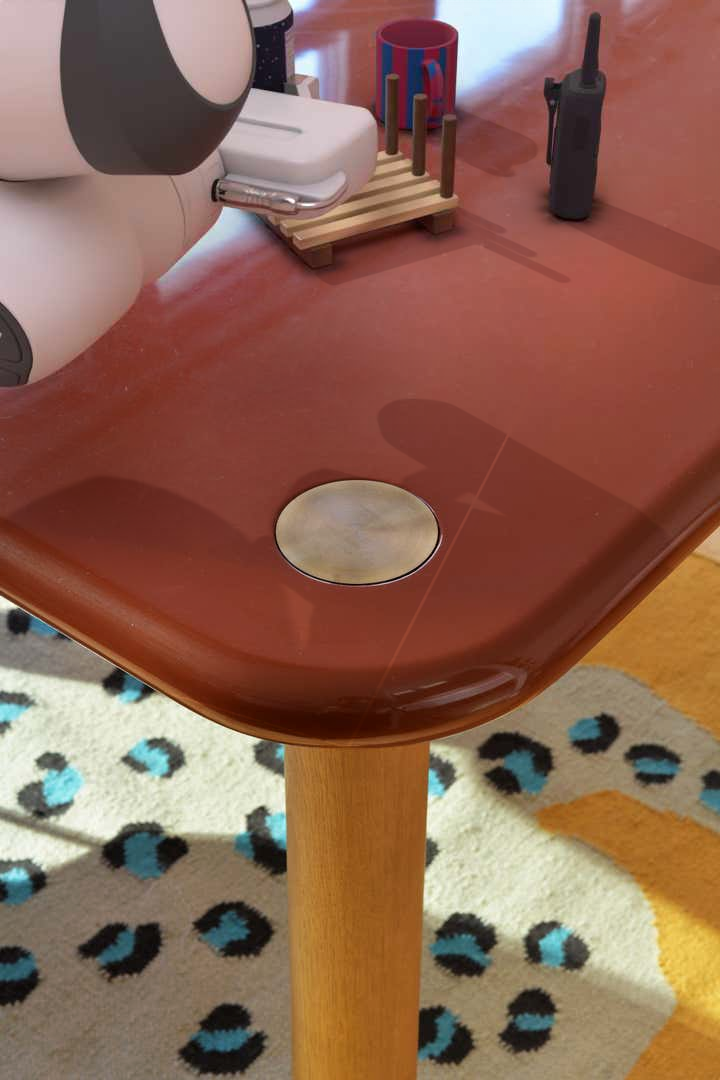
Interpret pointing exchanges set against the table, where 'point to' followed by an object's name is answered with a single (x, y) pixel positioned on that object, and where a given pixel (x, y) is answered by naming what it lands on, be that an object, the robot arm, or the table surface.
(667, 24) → the table surface
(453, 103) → the mug
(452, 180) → the drying rack
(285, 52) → the beverage can
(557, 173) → the two-way radio
